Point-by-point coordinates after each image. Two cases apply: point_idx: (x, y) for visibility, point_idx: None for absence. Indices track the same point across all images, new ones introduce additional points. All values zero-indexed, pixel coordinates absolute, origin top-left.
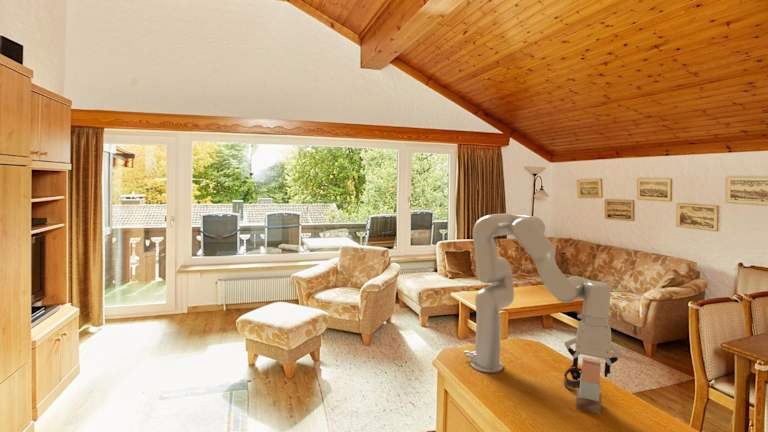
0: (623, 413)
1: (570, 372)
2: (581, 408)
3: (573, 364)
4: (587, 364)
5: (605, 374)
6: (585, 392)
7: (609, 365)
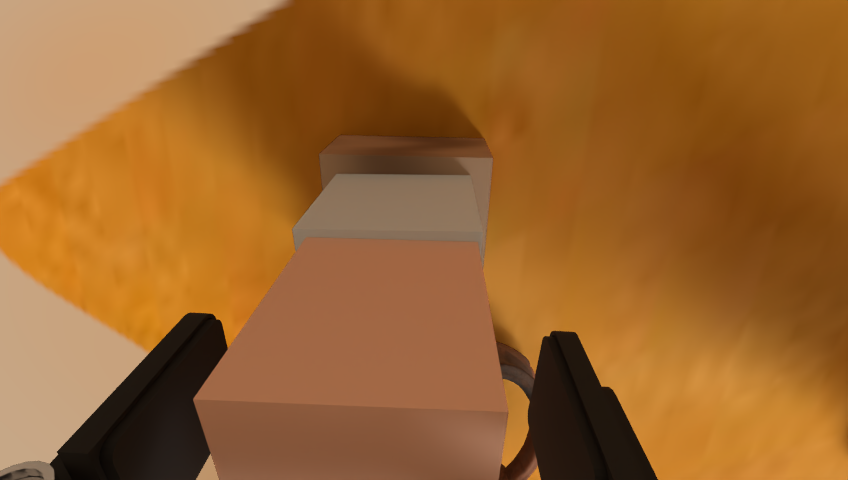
0: (219, 211)
1: (502, 465)
2: (452, 138)
3: (612, 405)
4: (426, 396)
5: (198, 333)
6: (432, 191)
7: (62, 468)
